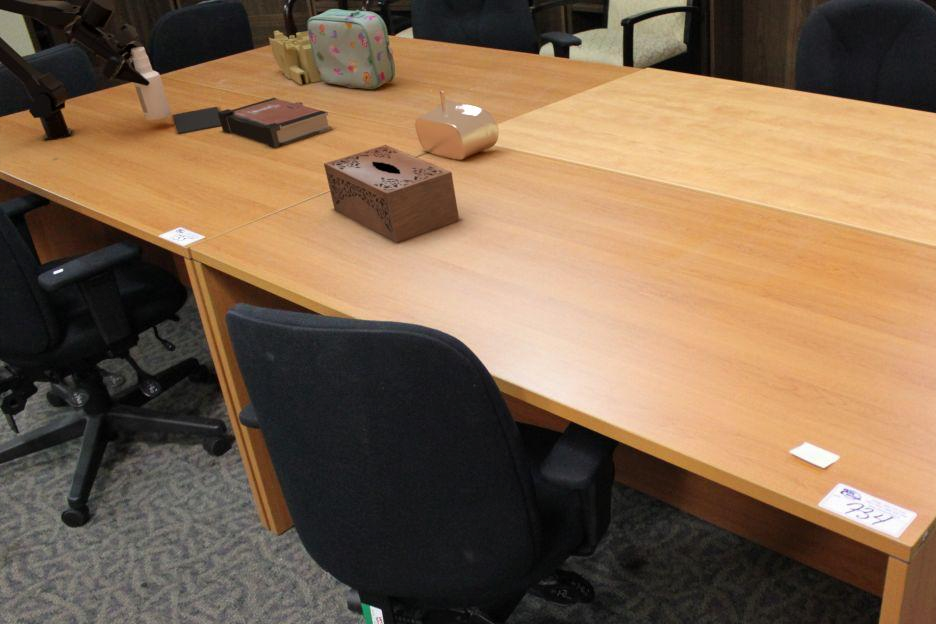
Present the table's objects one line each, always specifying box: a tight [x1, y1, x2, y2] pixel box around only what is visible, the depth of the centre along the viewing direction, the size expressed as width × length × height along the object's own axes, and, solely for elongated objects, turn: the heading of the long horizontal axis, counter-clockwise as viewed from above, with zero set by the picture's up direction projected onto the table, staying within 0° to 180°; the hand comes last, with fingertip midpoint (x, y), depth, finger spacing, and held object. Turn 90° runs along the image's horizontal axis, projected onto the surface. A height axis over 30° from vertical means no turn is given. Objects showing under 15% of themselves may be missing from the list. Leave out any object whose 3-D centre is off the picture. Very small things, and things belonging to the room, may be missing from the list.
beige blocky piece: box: [268, 30, 324, 86], centre depth 301 cm, size 24×16×20 cm
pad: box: [172, 106, 222, 135], centre depth 268 cm, size 20×12×1 cm, turn 24°
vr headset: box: [414, 90, 500, 161], centre depth 226 cm, size 18×11×14 cm, turn 49°
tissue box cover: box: [323, 144, 460, 244], centre depth 196 cm, size 26×14×10 cm, turn 40°
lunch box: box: [307, 8, 396, 90], centre depth 282 cm, size 27×10×21 cm, turn 58°
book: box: [218, 97, 332, 149], centre depth 253 cm, size 26×18×5 cm
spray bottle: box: [131, 46, 173, 121], centre depth 258 cm, size 7×7×18 cm
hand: (152, 80), depth 258 cm, fingers closed on spray bottle, 7 cm apart
